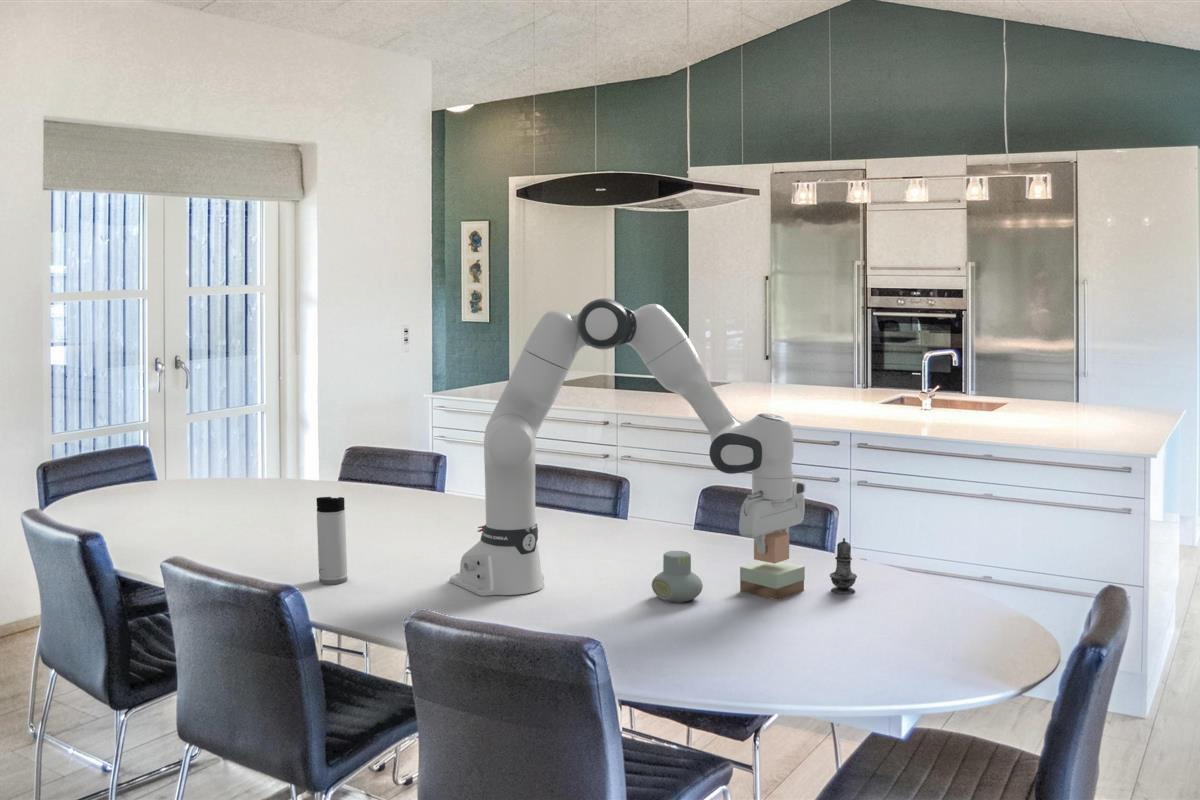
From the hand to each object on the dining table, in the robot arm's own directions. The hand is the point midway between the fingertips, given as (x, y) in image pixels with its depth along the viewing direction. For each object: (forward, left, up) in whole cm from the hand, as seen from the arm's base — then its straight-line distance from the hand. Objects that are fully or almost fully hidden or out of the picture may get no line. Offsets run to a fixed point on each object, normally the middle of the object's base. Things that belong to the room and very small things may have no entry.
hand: (771, 550), depth 253 cm
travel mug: (-79, -60, -9) cm, 100 cm away
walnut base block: (0, 0, -10) cm, 10 cm away
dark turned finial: (+12, +10, -9) cm, 18 cm away
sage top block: (0, 0, -7) cm, 7 cm away
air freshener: (-11, -19, -9) cm, 24 cm away
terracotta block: (0, 0, -2) cm, 2 cm away
